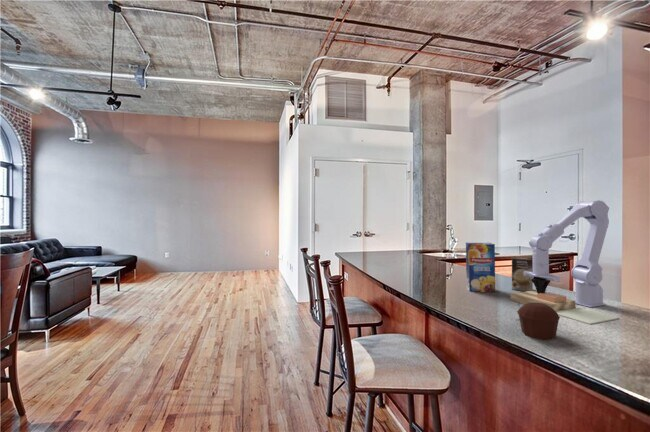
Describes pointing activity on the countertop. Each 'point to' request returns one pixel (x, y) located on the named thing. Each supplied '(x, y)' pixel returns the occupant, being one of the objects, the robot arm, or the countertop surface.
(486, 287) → the juice carton
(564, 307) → the board
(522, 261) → the coffee box
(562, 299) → the coaster
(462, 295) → the countertop surface
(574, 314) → the placemat
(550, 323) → the muffin
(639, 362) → the countertop surface
